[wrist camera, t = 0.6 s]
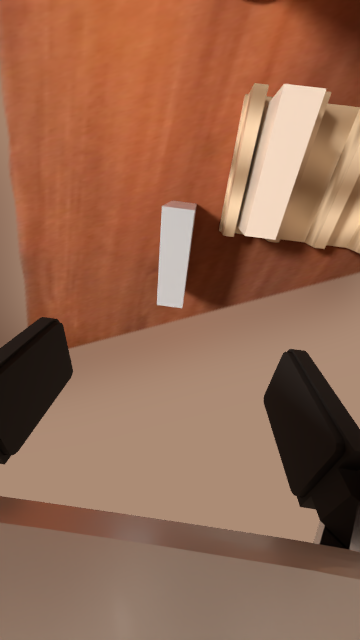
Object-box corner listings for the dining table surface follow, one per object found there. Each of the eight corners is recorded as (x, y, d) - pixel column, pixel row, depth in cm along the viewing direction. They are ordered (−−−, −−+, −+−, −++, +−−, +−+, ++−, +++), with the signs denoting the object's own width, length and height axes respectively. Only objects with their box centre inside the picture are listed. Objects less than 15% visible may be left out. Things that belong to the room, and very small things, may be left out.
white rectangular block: (172, 200, 30) (162, 206, 22) (196, 203, 30) (194, 210, 22) (166, 279, 36) (156, 304, 29) (186, 282, 36) (182, 308, 29)
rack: (244, 97, 24) (251, 82, 20) (424, 118, 23) (461, 107, 20) (218, 229, 31) (220, 235, 28) (354, 247, 31) (372, 255, 28)
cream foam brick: (263, 109, 23) (284, 83, 18) (295, 112, 23) (326, 88, 17) (236, 225, 30) (244, 235, 24) (261, 228, 30) (275, 239, 24)
